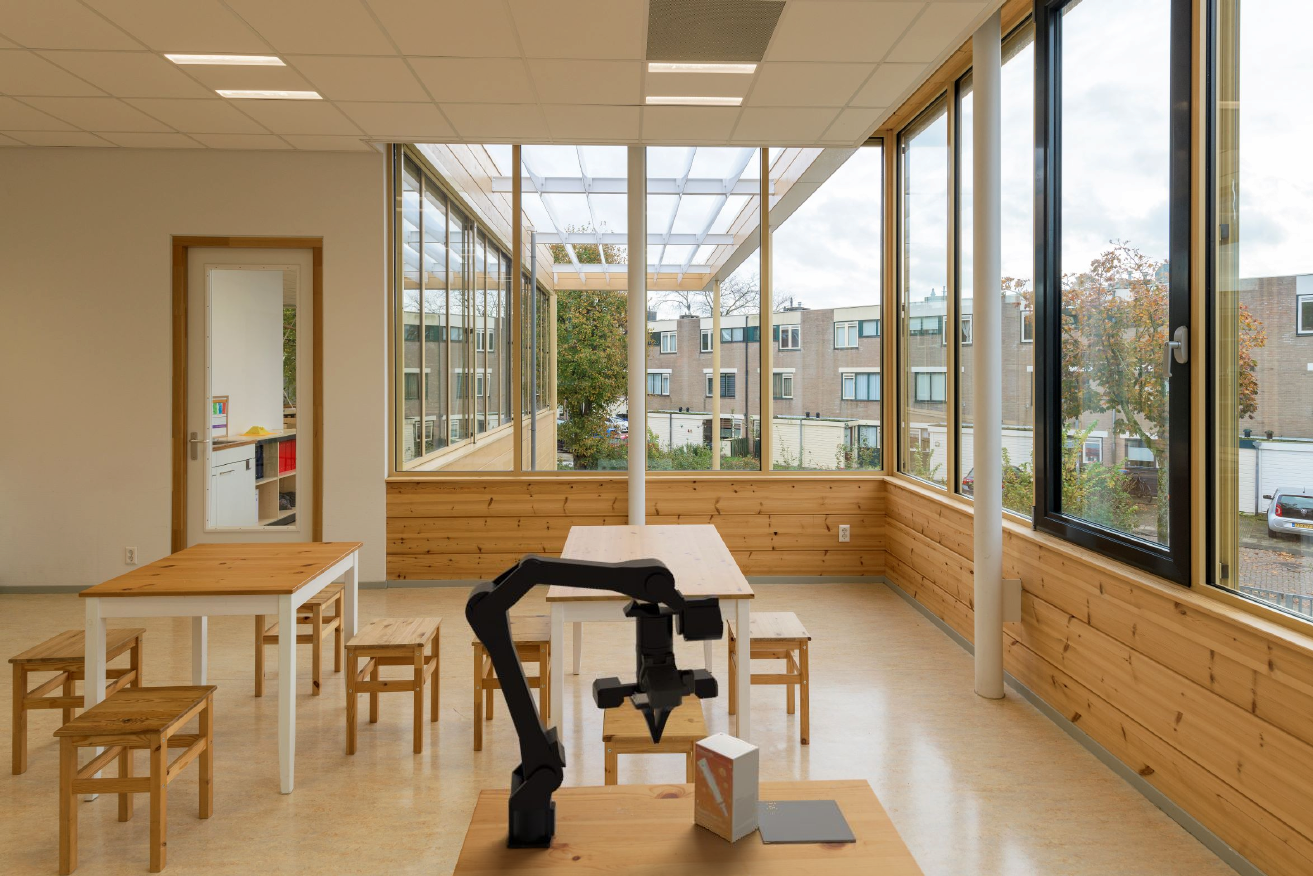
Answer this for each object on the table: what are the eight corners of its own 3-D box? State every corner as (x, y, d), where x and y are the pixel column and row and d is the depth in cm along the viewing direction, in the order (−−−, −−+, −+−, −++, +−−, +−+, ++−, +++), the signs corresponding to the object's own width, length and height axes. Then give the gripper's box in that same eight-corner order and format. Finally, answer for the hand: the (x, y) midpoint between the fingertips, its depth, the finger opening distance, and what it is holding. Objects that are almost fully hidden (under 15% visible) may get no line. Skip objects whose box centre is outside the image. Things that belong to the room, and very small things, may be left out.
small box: (693, 823, 125) (693, 741, 125) (720, 809, 130) (721, 730, 129) (732, 844, 119) (733, 759, 119) (759, 829, 124) (760, 746, 123)
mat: (763, 843, 120) (763, 841, 120) (750, 803, 132) (750, 801, 132) (856, 841, 120) (856, 839, 120) (834, 801, 132) (834, 799, 132)
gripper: (603, 665, 113) (604, 773, 113) (729, 653, 117) (730, 758, 118) (591, 642, 124) (592, 741, 124) (707, 632, 128) (707, 728, 129)
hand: (655, 742), depth 123 cm, fingers closed
